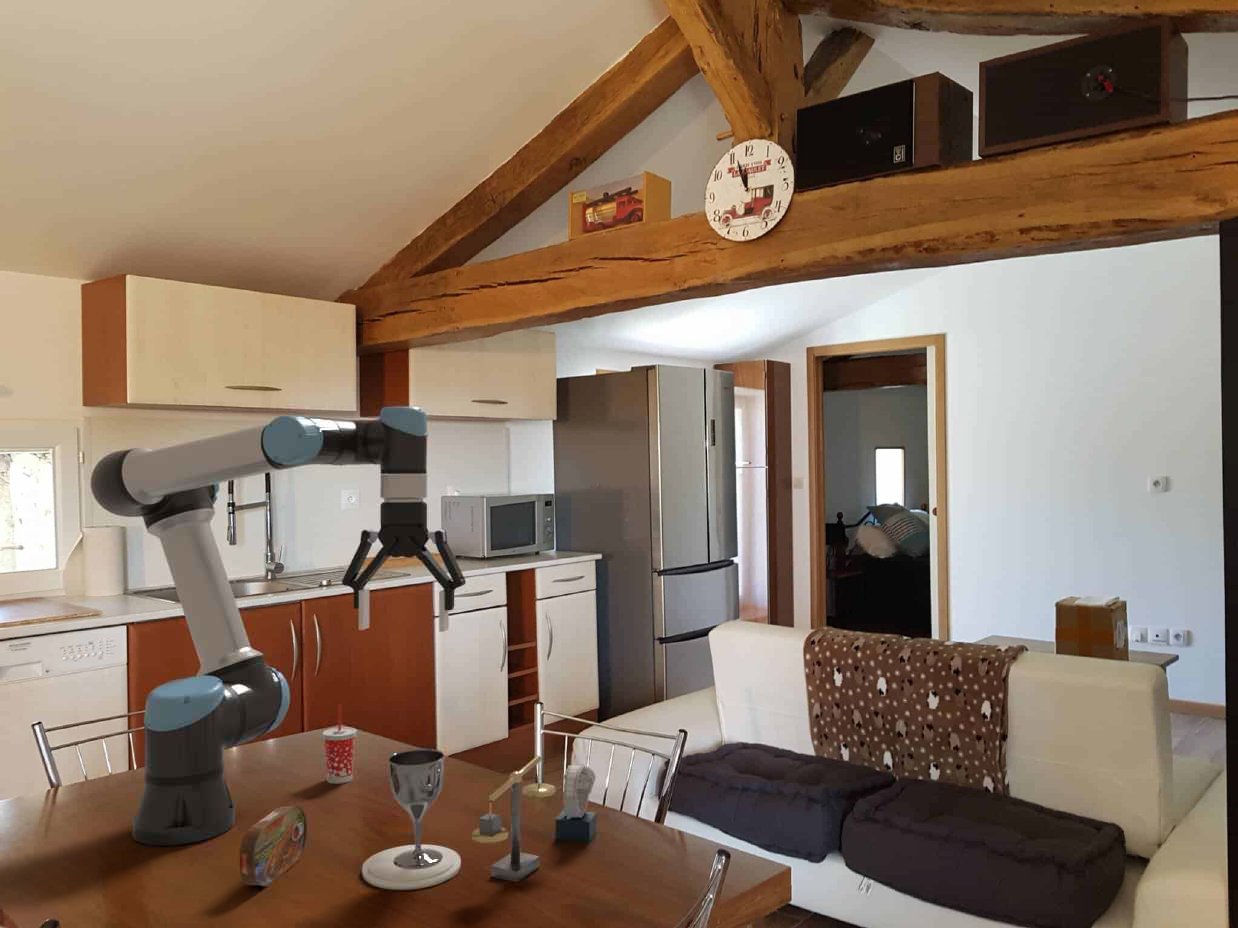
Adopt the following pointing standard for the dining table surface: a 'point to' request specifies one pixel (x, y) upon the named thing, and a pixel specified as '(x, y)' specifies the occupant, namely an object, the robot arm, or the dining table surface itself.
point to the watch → (576, 805)
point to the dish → (390, 876)
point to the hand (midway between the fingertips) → (403, 629)
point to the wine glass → (416, 797)
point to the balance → (512, 826)
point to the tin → (272, 845)
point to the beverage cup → (339, 752)
